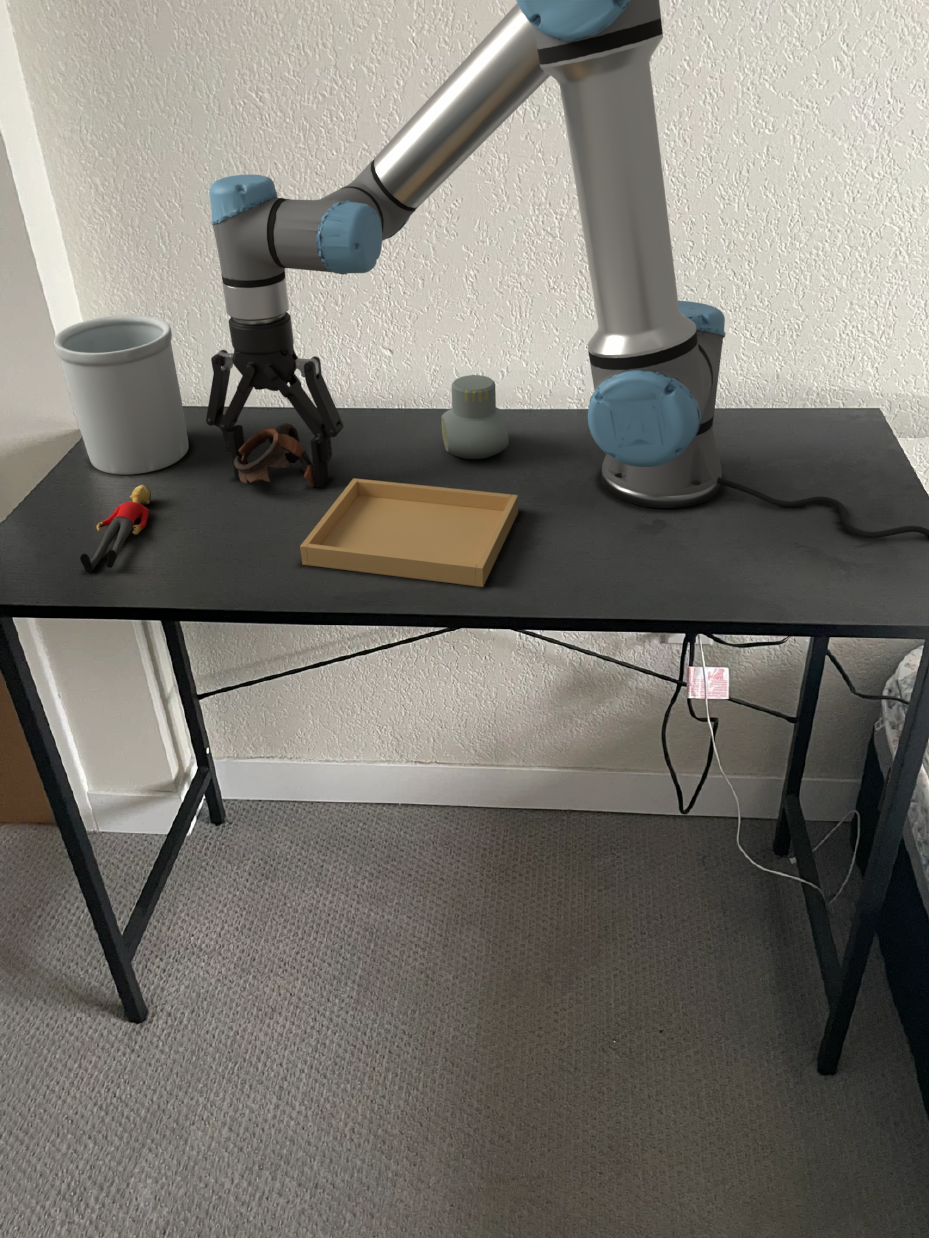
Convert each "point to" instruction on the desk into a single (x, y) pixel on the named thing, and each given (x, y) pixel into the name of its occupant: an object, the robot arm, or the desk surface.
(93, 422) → the utensil holder
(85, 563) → the person figure
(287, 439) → the broken clay pot
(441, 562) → the tray
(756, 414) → the desk surface
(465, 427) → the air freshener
